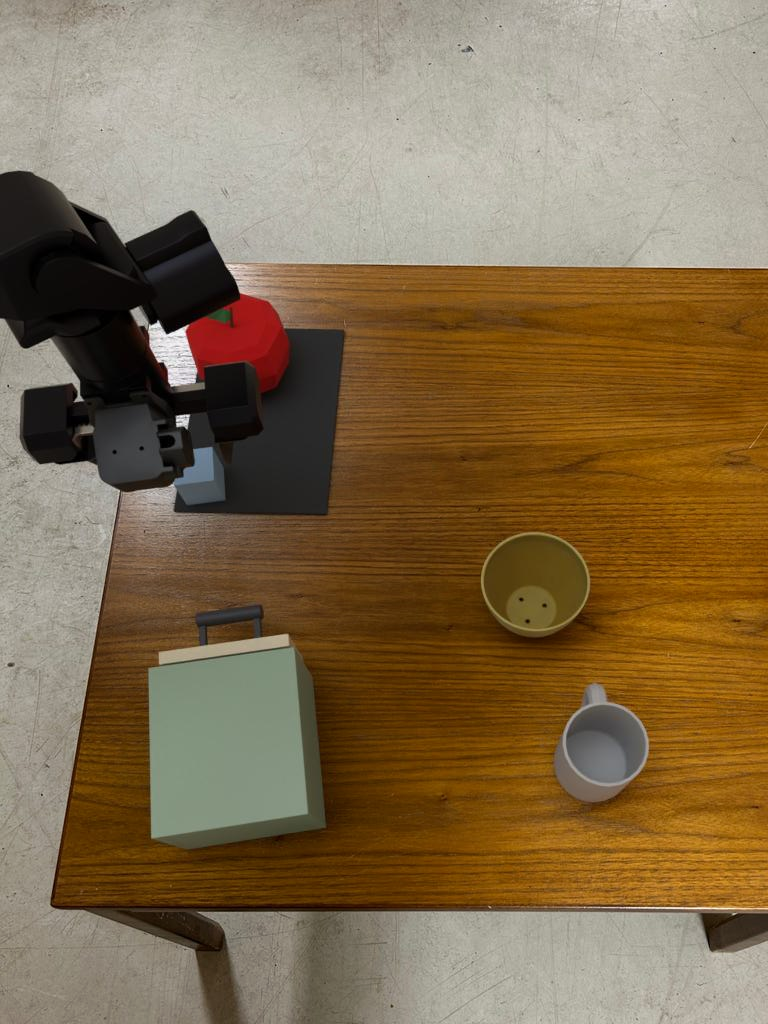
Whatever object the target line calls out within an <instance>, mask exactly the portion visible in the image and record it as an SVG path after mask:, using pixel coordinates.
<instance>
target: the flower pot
mask: <svg viewBox="0 0 768 1024" xmlns="http://www.w3.org/2000/svg"><path fill="white" fill-rule="evenodd" d="M480 586H481V593H482V596H483V600H484V602H485V604H486V606H487V608H488V610H489V611H490V613H491V614H492V616H493V617H494V619H495V620H496V621H497V622H498V623H499V624H500V625H501V626H503V627H504V628H505V629H506V630H508V631H509V632H511V633H514V634H516V635H519V636H522V637H524V638H525V637H526V638H542V637H547V636H550V635H553V634H555V633H557V632H560V631H561V630H563V629H565V628H566V627H567V626H569V624H571V623H572V621H574V620H575V619H576V617H578V615H579V614H580V613H581V611H582V610H583V608H584V607H585V604H586V603H587V600H588V598H589V595H590V590H591V577H590V571H589V568H588V566H587V563H586V560H585V559H584V557H583V556H582V554H581V553H580V551H579V550H577V549H576V547H574V546H573V545H572V544H571V543H570V542H568V541H566V540H564V539H563V538H561V537H560V536H556V535H554V534H551V533H546V532H539V531H534V532H533V531H531V532H522V533H517V534H514V535H512V536H510V537H508V538H506V539H503V541H501V542H500V543H498V544H497V545H496V546H495V547H494V548H493V549H492V550H491V552H489V554H488V556H487V557H486V559H485V561H484V563H483V566H482V569H481V575H480ZM520 599H522V601H521V600H520ZM543 605H545V606H546V607H544V606H543ZM526 621H529V622H526Z"/></svg>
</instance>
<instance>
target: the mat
mask: <svg viewBox="0 0 768 1024" xmlns="http://www.w3.org/2000/svg"><path fill="white" fill-rule="evenodd" d="M284 330H285V333H286V335H287V338H288V340H289V363H288V365H287V367H286V369H285V371H284V373H283V375H282V377H281V379H280V381H279V383H278V384H277V386H276V388H273V389H271V390H268V391H265V392H263V393H261V403H262V414H263V425H264V429H263V430H262V431H261V432H260V433H259V435H257V436H250V437H248V438H247V439H245V440H242V441H234V444H233V451H232V463H231V464H230V465H227V464H226V463H225V461H224V460H223V457H222V454H221V451H220V448H219V445H218V444H215V441H214V434H213V432H212V430H211V428H210V424H209V420H208V416H207V412H203V413H196V414H189V416H188V417H189V418H188V424H187V428H186V429H187V430H188V431H189V432H190V435H191V438H192V445H193V449H199V448H207V447H213V449H214V451H215V453H216V455H217V457H218V459H219V460H220V462H221V464H222V466H223V468H224V483H225V500H224V501H216V502H209V503H201V504H194V505H187V504H186V503H185V501H184V500H183V498H182V497H181V495H180V494H179V492H178V491H177V490H176V493H175V500H174V506H173V512H174V513H184V514H185V513H191V514H193V513H194V514H234V515H235V514H236V515H237V514H239V515H240V514H242V515H285V516H286V515H290V516H291V515H293V516H328V509H329V499H330V489H331V488H330V487H331V479H332V477H331V476H332V466H333V457H334V456H333V455H334V454H333V453H334V446H335V445H334V444H335V436H336V435H335V434H336V423H337V413H338V403H339V394H340V393H339V392H340V382H341V373H342V363H343V362H342V361H343V351H344V340H345V329H339V328H291V327H284ZM203 382H204V381H203V380H202V379H201V378H200V377H199V374H198V371H197V370H196V376H195V380H194V384H195V383H203Z"/></svg>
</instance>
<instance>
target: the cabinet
mask: <svg viewBox="0 0 768 1024" xmlns="http://www.w3.org/2000/svg"><path fill="white" fill-rule="evenodd" d="M147 669H148V670H147V671H148V673H147V674H148V719H149V720H148V722H149V723H148V726H149V727H148V728H149V729H148V730H149V731H148V732H149V734H148V735H149V782H150V783H149V784H150V785H149V786H150V787H149V788H150V789H149V791H150V793H149V795H150V797H149V798H150V838H151V840H155V841H157V842H161V843H164V844H167V845H170V846H173V847H174V846H175V847H177V848H180V849H184V850H187V851H188V850H193V849H200V848H205V847H206V848H207V847H212V846H213V847H214V846H219V845H225V844H231V843H238V842H245V841H250V840H257V839H264V838H270V837H275V836H282V835H289V834H294V833H300V832H308V831H314V830H319V829H320V830H321V829H326V828H327V821H326V811H325V810H326V808H325V800H324V790H323V789H324V787H323V775H322V766H321V765H322V764H321V754H320V743H319V732H318V719H317V709H316V699H315V688H314V676H313V675H312V674H311V672H310V670H309V669H308V667H307V665H306V664H305V663H304V660H303V661H302V659H301V657H300V656H299V654H298V653H297V651H296V649H295V648H294V647H291V648H284V649H277V650H270V651H263V652H256V653H249V654H243V655H236V656H229V657H222V658H215V659H208V660H201V661H194V662H187V663H180V664H173V665H166V666H160V665H159V666H153V667H148V668H147Z"/></svg>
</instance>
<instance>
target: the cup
mask: <svg viewBox="0 0 768 1024" xmlns="http://www.w3.org/2000/svg"><path fill="white" fill-rule="evenodd" d="M608 700H609V699H608V695H607V692H606V690H605V688H604V685H602V684H600V683H598V682H593V683H591V684H588V685H587V686H586V687H585V689H584V692H583V695H582V699H581V707H580V708H579V709H578V710H577V711H576V712H574V713H573V714H572V715H571V716H570V719H569V720H568V721H567V723H566V725H565V727H564V729H563V730H562V731H563V732H562V734H561V736H560V738H559V741H558V742H557V745H556V747H555V748H556V749H555V751H554V755H553V756H554V757H553V770H554V774H555V777H556V779H557V781H558V783H559V785H560V786H561V788H563V790H564V791H566V793H567V794H569V795H570V796H571V797H572V798H575V799H577V800H580V801H582V802H585V803H586V802H587V803H599V802H605V801H607V800H609V799H612V798H614V797H616V796H617V795H618V794H619V793H621V791H623V790H624V789H625V788H626V786H627V785H629V784H630V783H631V782H632V781H633V780H634V779H635V778H636V777H637V776H638V775H639V774H640V773H641V771H642V769H643V768H644V767H645V765H646V763H647V760H648V757H649V754H650V753H649V752H650V740H649V736H648V733H647V730H646V728H645V726H644V724H643V722H642V721H641V719H640V718H639V717H638V716H637V715H636V714H635V713H634V712H633V711H631V710H630V709H628V708H627V707H625V706H624V705H621V704H618V703H615V702H610V701H608Z"/></svg>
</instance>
